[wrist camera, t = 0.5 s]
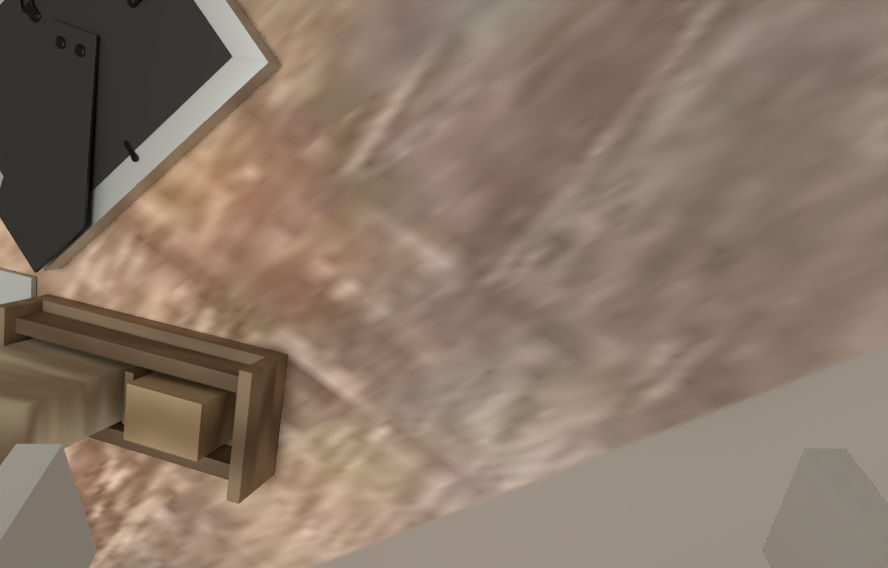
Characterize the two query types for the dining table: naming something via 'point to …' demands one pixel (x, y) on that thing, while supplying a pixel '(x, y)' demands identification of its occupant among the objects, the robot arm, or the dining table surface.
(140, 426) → the oak offcut
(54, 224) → the picture frame
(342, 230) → the dining table surface
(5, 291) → the rubber pad
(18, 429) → the tall grained pillar
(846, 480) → the robot arm
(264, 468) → the tray
